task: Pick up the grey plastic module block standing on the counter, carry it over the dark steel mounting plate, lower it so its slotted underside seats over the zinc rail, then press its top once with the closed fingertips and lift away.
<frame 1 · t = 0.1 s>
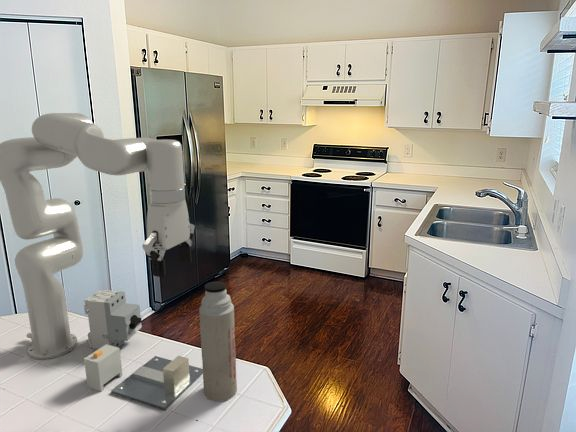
hand: (173, 268, 98), 31 cm above the counter, tool pointing down, fingers open, 9 cm apart
mounting plate: (159, 382, 107), on the counter
thermos bottle: (220, 391, 103), on the counter
circuit breaker: (119, 344, 124), on the counter
module: (105, 381, 107), on the counter
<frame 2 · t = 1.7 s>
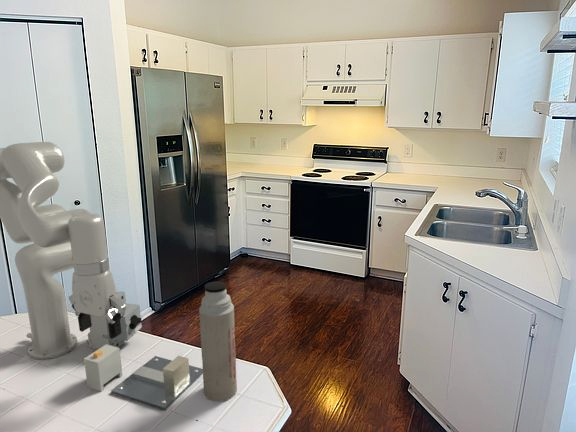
hand: (100, 332, 103), 14 cm above the counter, tool pointing down, fingers open, 9 cm apart
nothing on the counter moved.
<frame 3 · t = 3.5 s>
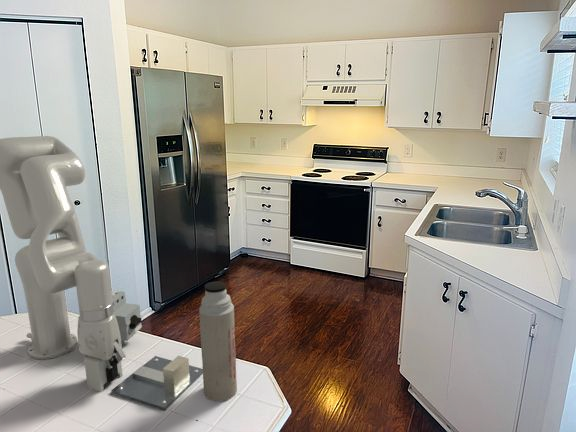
hand: (104, 376, 107), 1 cm above the counter, tool pointing down, fingers closed on module, 4 cm apart
module: (105, 381, 107), on the counter, touching gripper
everything else where it was.
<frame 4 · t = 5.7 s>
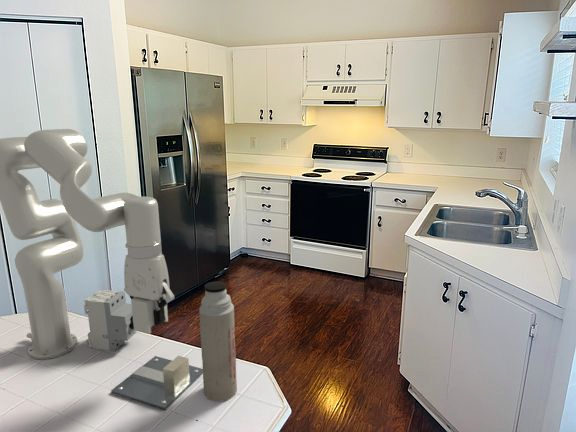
hand: (151, 320, 103), 17 cm above the counter, tool pointing down, fingers closed on module, 4 cm apart
module: (151, 325, 103), point 16 cm above the counter, touching gripper
everything else where it was.
when the fingers open (4 cm above the counter, at t = 8.0 s): module drops 1 cm, resting on mounting plate.
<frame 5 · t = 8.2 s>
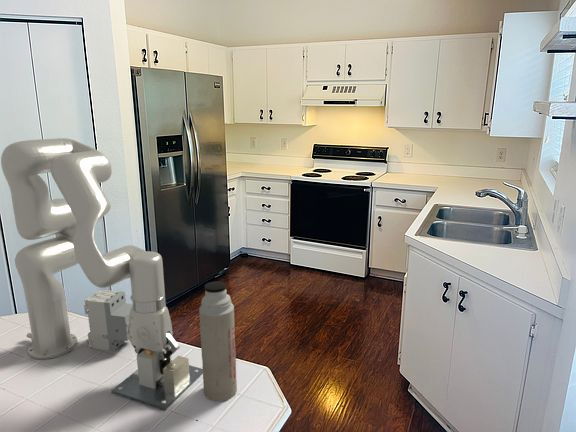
hand: (154, 367, 106), 4 cm above the counter, tool pointing down, fingers open, 6 cm apart
module: (156, 378, 107), point 1 cm above the counter, touching mounting plate
everything else where it was.
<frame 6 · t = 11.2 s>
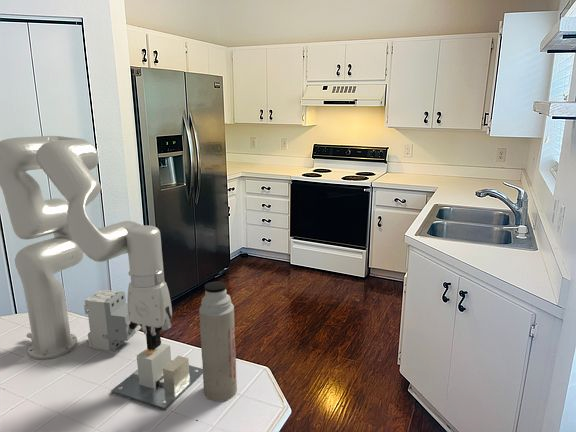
hand: (154, 346, 104), 10 cm above the counter, tool pointing down, fingers closed
module: (156, 378, 107), point 1 cm above the counter, touching gripper, mounting plate
everything else where it was.
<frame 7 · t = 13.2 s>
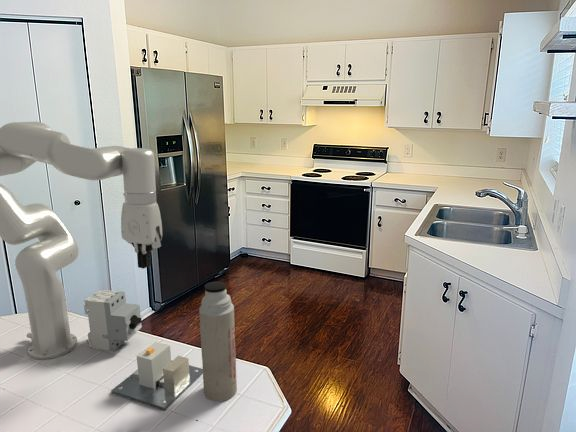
hand: (144, 266, 111), 27 cm above the counter, tool pointing down, fingers closed
module: (156, 378, 107), point 1 cm above the counter, touching mounting plate
everything else where it was.
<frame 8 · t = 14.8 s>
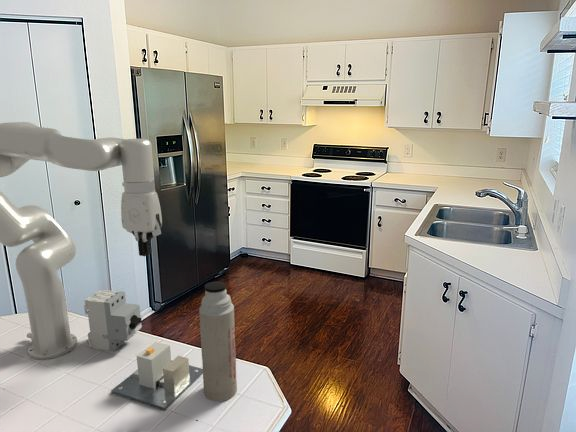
hand: (145, 254, 113), 29 cm above the counter, tool pointing down, fingers closed
nothing on the counter moved.
at the end: module 1.3 cm from the target spot on the mounting plate, point 0.8 cm above the mounting plate's base; module tilted 0°; the gripper is holding nothing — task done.
